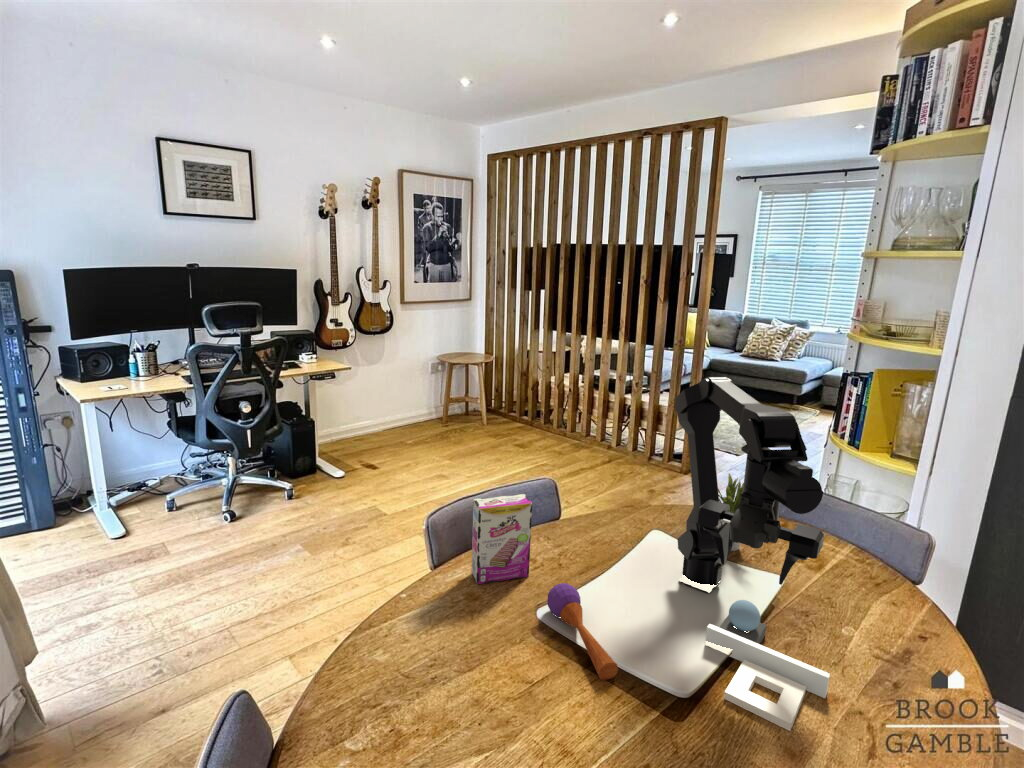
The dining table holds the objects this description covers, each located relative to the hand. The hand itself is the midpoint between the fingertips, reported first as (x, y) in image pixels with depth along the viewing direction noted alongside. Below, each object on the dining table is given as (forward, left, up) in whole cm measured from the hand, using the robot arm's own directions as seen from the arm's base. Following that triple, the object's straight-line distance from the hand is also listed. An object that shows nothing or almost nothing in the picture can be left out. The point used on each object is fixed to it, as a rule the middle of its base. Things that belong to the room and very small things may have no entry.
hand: (751, 573), depth 93 cm
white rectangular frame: (+7, -12, -12) cm, 18 cm away
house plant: (-14, +32, -12) cm, 37 cm away
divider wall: (+5, -6, -12) cm, 14 cm away
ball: (0, 0, -8) cm, 8 cm away
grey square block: (0, 0, -12) cm, 12 cm away
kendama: (-21, -19, -12) cm, 31 cm away
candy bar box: (-44, -13, -12) cm, 47 cm away
